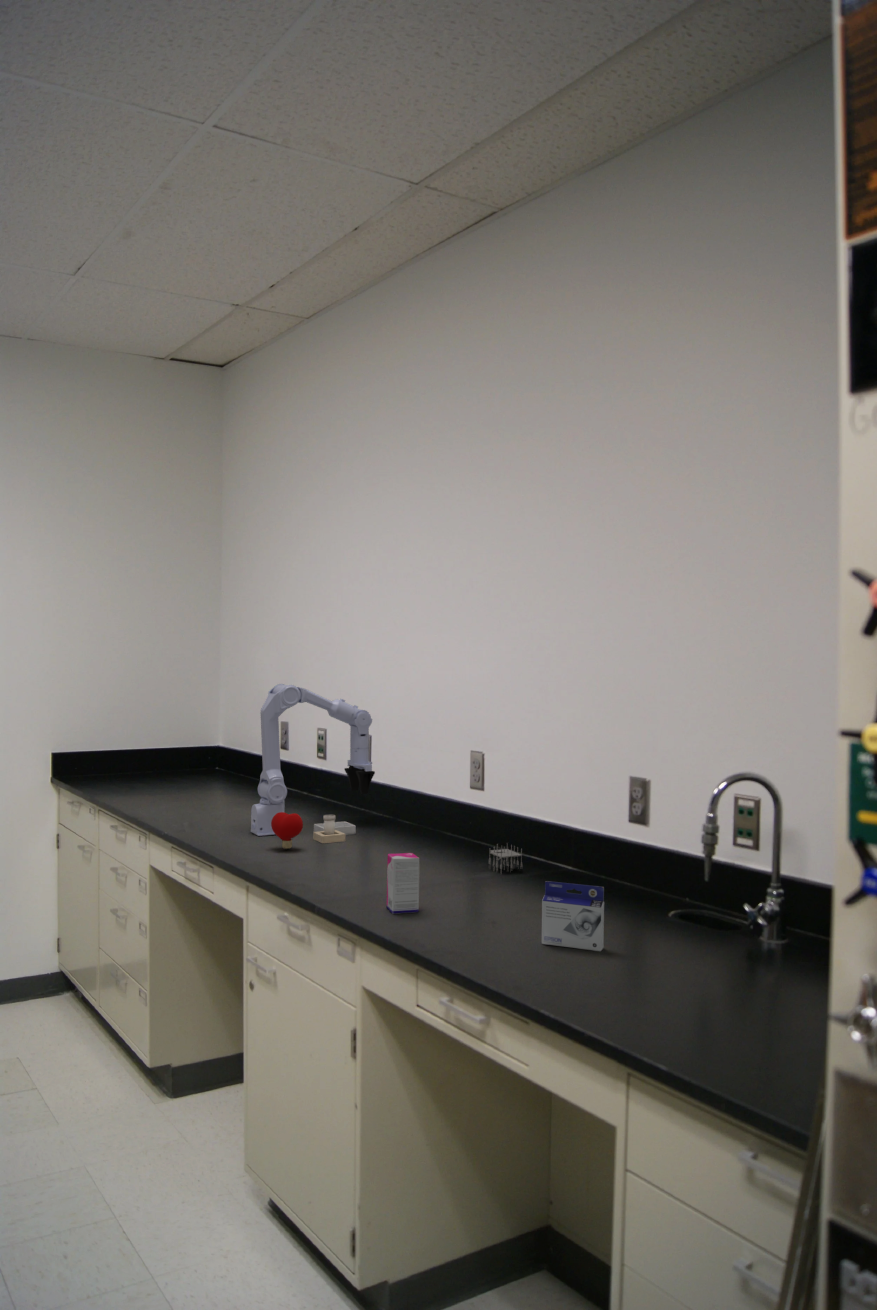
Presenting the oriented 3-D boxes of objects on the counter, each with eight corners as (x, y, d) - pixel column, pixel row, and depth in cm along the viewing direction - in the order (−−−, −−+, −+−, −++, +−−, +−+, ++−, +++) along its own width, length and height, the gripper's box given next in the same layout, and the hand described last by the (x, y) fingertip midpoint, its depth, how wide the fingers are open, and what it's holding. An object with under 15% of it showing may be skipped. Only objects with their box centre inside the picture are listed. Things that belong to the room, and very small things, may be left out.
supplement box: (419, 912, 202) (420, 857, 202) (392, 914, 201) (392, 859, 201) (412, 905, 208) (412, 851, 208) (385, 907, 206) (385, 853, 206)
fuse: (325, 841, 274) (325, 817, 274) (321, 839, 277) (321, 815, 277) (337, 840, 276) (337, 816, 276) (332, 838, 279) (332, 814, 279)
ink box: (540, 945, 180) (540, 883, 180) (543, 941, 183) (544, 880, 183) (602, 952, 176) (602, 889, 176) (604, 948, 179) (605, 886, 178)
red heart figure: (308, 848, 265) (308, 812, 265) (294, 853, 258) (294, 816, 258) (280, 845, 269) (280, 809, 268) (265, 850, 262) (265, 813, 262)
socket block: (322, 843, 272) (322, 836, 272) (313, 839, 278) (313, 832, 278) (345, 841, 275) (345, 834, 275) (336, 836, 281) (336, 829, 281)
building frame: (500, 875, 236) (500, 850, 236) (485, 868, 243) (485, 844, 243) (523, 872, 238) (523, 848, 238) (507, 865, 246) (507, 842, 245)
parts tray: (323, 837, 281) (323, 828, 281) (313, 832, 288) (313, 824, 288) (355, 834, 285) (355, 825, 285) (345, 829, 292) (345, 821, 292)
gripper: (381, 749, 296) (380, 794, 296) (362, 745, 309) (362, 788, 309) (359, 750, 292) (359, 796, 293) (341, 746, 305) (341, 789, 305)
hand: (359, 792), depth 300 cm, fingers open, 7 cm apart
